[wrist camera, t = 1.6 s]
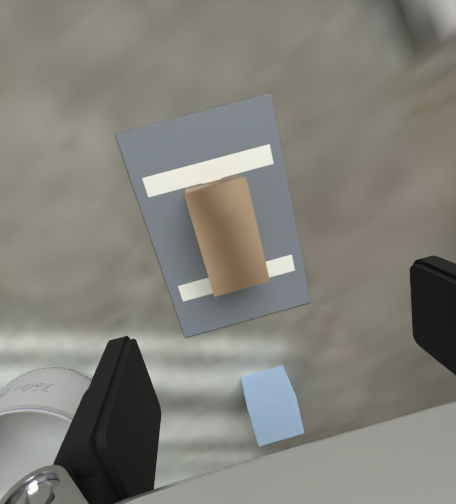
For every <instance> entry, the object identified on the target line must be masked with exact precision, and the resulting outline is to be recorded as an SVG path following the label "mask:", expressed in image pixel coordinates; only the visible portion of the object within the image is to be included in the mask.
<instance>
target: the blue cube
mask: <svg viewBox="0 0 456 504" xmlns="http://www.w3.org/2000/svg"><path fill="white" fill-rule="evenodd" d="M241 381H242V386H243V390H244V395H245V399H246V404H247V409H248V412H249V416H250V419H251V423H252V426H253V429H254V433H255V436H256V439H257V443H258V446H262V445H266V444H269V443H273V442H276V441H279V440H283V439H286V438H290V437H293V436H296V435H300V434H303V433H304V429H303V425H302V420H301V416H300V412H299V408H298V403H297V399H296V395H295V393H294V391H293V388H292V386H291V384H290V381H289V379H288V377H287V374H286V372H285V370H284V367H283V365H281V366H278V367H274V368H271V369H267V370H264V371H260V372H257V373H253V374H250V375H246V376H243V377H241Z"/></svg>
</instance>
